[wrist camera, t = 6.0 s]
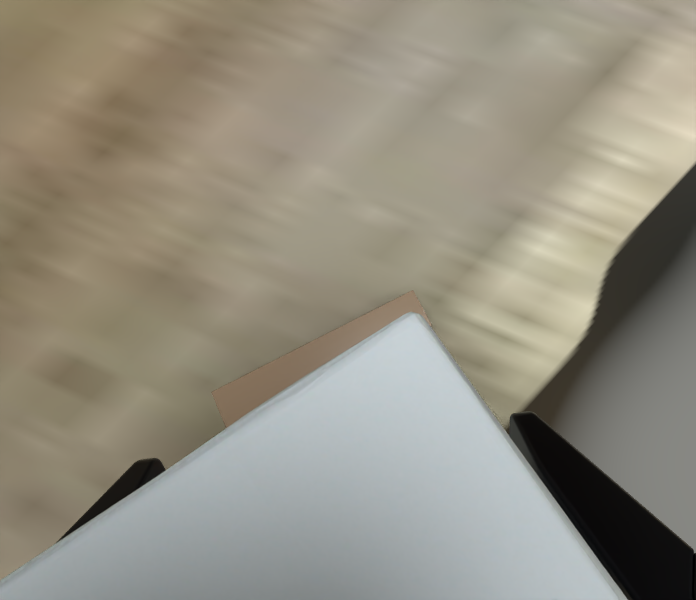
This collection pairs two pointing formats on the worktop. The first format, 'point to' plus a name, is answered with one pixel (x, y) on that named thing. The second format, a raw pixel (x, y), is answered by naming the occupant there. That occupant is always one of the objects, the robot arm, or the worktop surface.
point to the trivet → (306, 359)
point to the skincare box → (338, 501)
